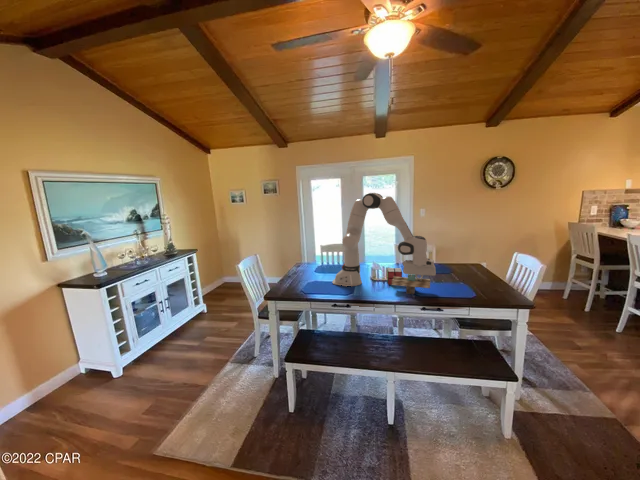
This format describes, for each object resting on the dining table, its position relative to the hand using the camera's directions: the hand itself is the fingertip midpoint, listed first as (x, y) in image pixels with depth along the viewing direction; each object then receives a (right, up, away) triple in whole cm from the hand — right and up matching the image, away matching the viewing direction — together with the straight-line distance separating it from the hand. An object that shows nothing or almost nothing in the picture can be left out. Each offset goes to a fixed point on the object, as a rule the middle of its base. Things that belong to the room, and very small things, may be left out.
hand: (419, 280), depth 181 cm
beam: (-4, -8, +3) cm, 10 cm away
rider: (-4, -1, +2) cm, 5 cm away
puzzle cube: (-10, -5, +23) cm, 26 cm away
